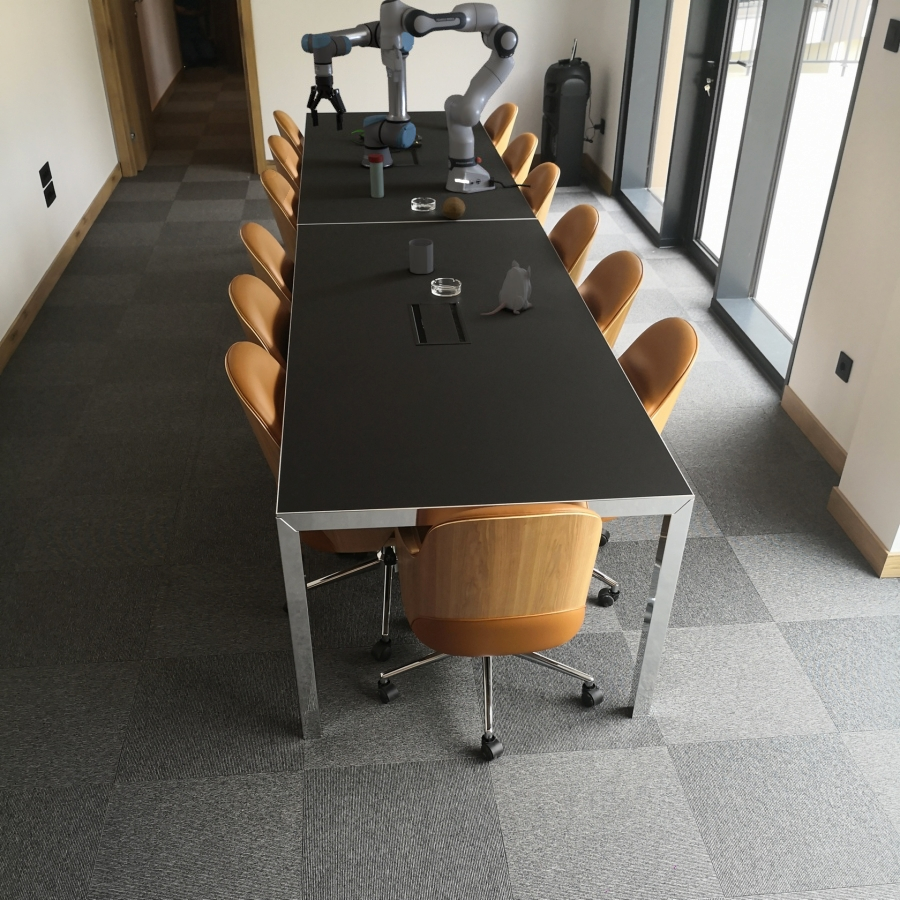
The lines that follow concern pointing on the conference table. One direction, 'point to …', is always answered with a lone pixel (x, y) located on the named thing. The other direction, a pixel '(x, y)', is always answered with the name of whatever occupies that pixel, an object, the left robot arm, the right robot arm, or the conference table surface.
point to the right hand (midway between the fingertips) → (392, 79)
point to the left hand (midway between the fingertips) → (327, 128)
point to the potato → (453, 208)
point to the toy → (515, 290)
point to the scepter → (359, 138)
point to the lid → (376, 158)
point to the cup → (421, 256)
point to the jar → (376, 180)
